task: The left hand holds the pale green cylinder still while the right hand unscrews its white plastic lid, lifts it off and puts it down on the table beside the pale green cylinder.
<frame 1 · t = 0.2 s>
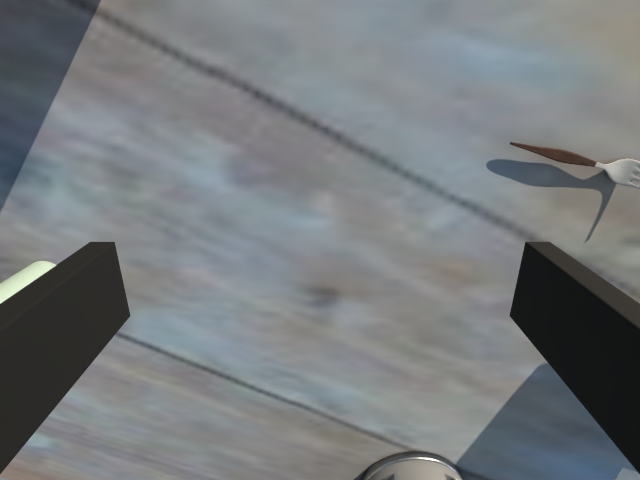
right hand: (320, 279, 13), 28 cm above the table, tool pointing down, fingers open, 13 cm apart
pale green cylinder: (47, 278, 44), on the table
fork: (580, 160, 39), on the table
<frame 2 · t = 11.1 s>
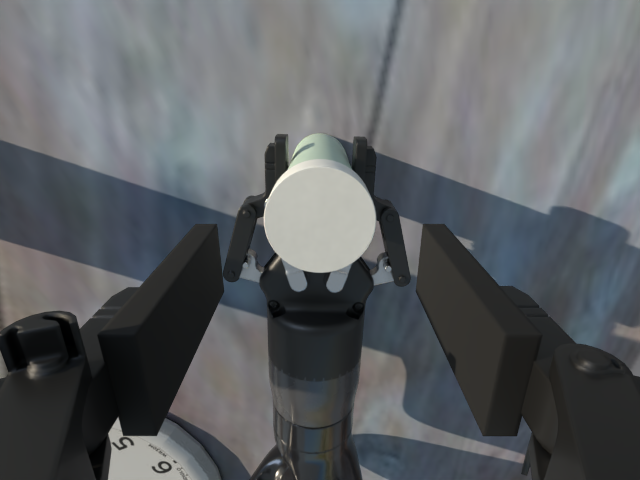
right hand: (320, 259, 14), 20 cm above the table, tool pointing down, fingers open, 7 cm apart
left hand: (320, 138, 25), fingers closed on pale green cylinder, 4 cm apart
lid: (320, 220, 18), point 15 cm above the table, screwed on, not yet turned
pale green cylinder: (319, 160, 32), on the table, touching left hand
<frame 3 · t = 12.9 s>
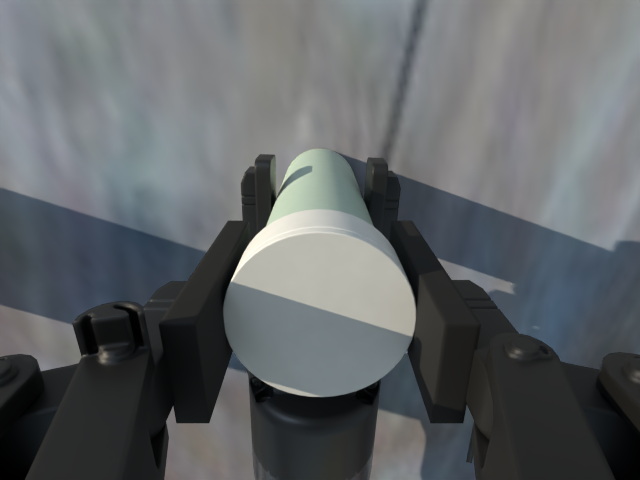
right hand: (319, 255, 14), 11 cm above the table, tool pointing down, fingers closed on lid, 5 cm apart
lid: (319, 315, 11), point 15 cm above the table, screwed on, not yet turned, touching right hand
pale green cylinder: (319, 183, 25), on the table, touching left hand
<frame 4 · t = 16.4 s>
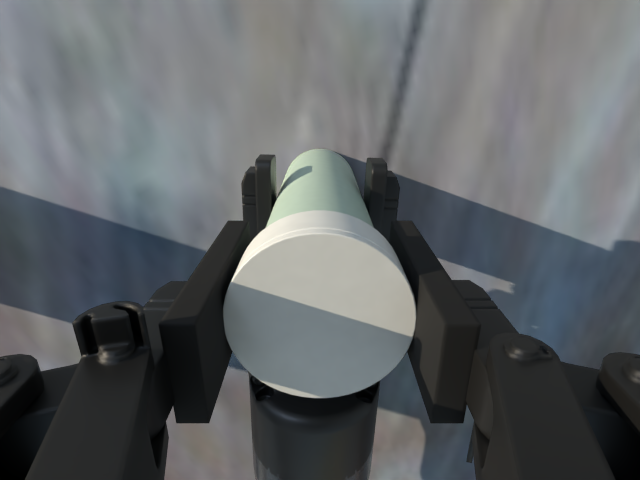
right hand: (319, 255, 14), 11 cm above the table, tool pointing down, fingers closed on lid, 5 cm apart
lid: (319, 316, 11), point 15 cm above the table, turned 123° so far, risen 0.2 cm, still on its thread, touching right hand
pale green cylinder: (319, 183, 25), on the table, touching left hand
when the right hand's fingers open (0 cm above the table, at t = 31.1 s): lid drops 3 cm, point 2 cm above the table.
when the left hand's fingers open (7 cm above the table, at t = 31.8 s): pale green cylinder stays where it is, on the table.
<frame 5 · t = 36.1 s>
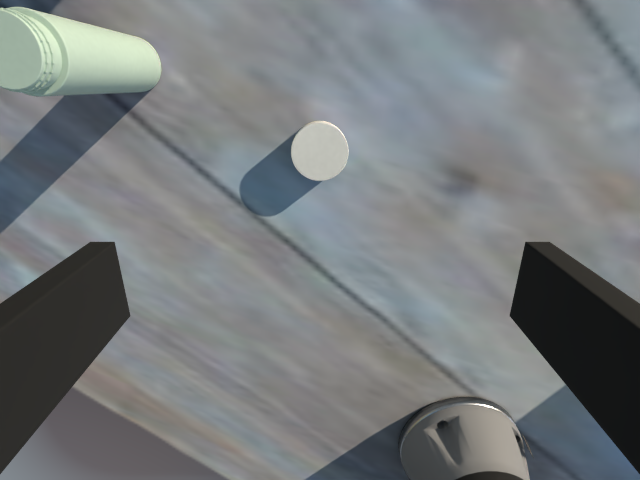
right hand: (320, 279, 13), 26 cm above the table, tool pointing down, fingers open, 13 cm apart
lid: (319, 152, 35), point 2 cm above the table, off its thread
pale green cylinder: (135, 64, 34), on the table
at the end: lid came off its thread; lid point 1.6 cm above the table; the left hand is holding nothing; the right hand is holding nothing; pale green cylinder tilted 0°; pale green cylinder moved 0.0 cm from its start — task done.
